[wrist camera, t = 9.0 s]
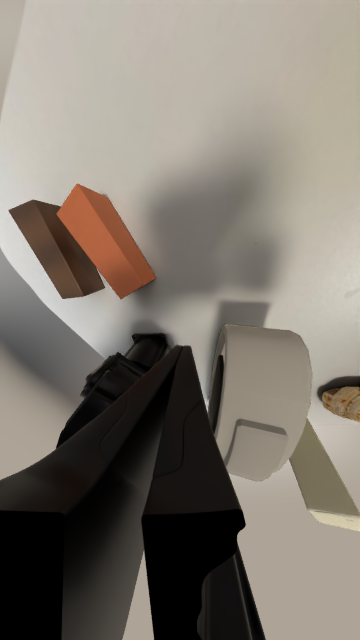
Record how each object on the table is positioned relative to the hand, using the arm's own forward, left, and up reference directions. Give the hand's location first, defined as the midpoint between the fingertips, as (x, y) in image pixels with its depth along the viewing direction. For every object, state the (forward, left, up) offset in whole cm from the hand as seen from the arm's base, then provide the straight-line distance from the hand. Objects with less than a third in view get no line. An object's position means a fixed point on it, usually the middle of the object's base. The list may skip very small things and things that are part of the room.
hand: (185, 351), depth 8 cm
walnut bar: (-17, +7, -12) cm, 22 cm away
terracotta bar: (-10, +6, -12) cm, 17 cm away
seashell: (+22, -19, -12) cm, 32 cm away
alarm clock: (+4, -14, -12) cm, 19 cm away
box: (+13, -22, -12) cm, 28 cm away
